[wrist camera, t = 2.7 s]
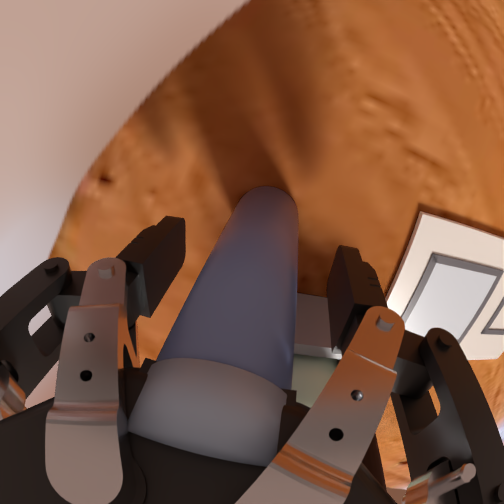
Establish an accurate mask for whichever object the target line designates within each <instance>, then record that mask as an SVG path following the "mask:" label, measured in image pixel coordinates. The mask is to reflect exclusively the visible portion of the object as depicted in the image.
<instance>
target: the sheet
mask: <svg viewBox="0 0 504 504" xmlns="http://www.w3.org/2000/svg"><path fill="white" fill-rule="evenodd" d="M385 300H386V303H387V306H388V308H389V309H391V310H393V311H395V312H396V313H397V314H398V315H399V316H400V317H401V318H402V319H403V321H404V324H405V330H407V331H410V332H412V333H415V334H418V335H421V336H423V337H425V335H426V334H427V332H428V331H429V330H430V329H431V328H442V329H445V330H447V331H448V332H450V333H451V334H452V335H453V336H454V337H455V338H456V340H457V341H458V343H459V345H460V347H461V348H462V350H463V352H464V354H465V356H466V358H467V360H483V359H498V357H499V356H500V355H501V354H502V352H503V351H504V238H502V237H500V236H497V235H494V234H491V233H489V232H486V231H483V230H480V229H477V228H474V227H471V226H468V225H465V224H462V223H459V222H456V221H452V220H449V219H446V218H442V217H439V216H436V215H432V214H429V213H425V212H422V211H420V213H419V216H418V219H417V222H416V225H415V228H414V230H413V233H412V236H411V239H410V241H409V244H408V246H407V249H406V252H405V254H404V257H403V259H402V261H401V264H400V266H399V269H398V271H397V273H396V276H395V278H394V280H393V282H392V285H391V287H390V289H389V291H388V293H387V296H386V298H385Z"/></svg>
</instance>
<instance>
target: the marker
mask: <svg viewBox="0 0 504 504" xmlns="http://www.w3.org/2000/svg"><path fill="white" fill-rule="evenodd" d="M297 274H298V210H297V206H296V204H295V202H294V201H293V199H292V198H291V197H290V196H289V195H288V194H287V193H286V192H284V191H282V190H280V189H278V188H275V187H270V186H262V187H257V188H254V189H252V190H250V191H248V192H247V193H246V194H244V196H243V197H242V198H241V199H240V201H239V203H238V204H237V206H236V208H235V210H234V212H233V213H232V215H231V217H230V219H229V221H228V222H227V224H226V226H225V228H224V230H223V232H222V233H221V235H220V237H219V239H218V241H217V243H216V244H215V246H214V248H213V250H212V252H211V254H210V256H209V257H208V259H207V261H206V263H205V265H204V267H203V269H202V271H201V272H200V274H199V276H198V278H197V280H196V282H195V284H194V286H193V288H192V290H191V292H190V294H189V295H188V297H187V299H186V301H185V303H184V305H183V307H182V309H181V311H180V313H179V315H178V317H177V319H176V321H175V323H174V325H173V327H172V329H171V331H170V333H169V335H168V337H167V339H166V341H165V343H164V345H163V347H162V349H161V351H160V353H159V355H158V357H157V359H156V361H158V362H156V363H154V364H152V365H151V367H150V369H149V371H148V373H147V374H148V377H147V380H146V382H145V384H144V387H143V389H142V391H141V393H140V395H139V397H138V399H137V402H136V404H135V406H134V408H133V410H132V413H131V415H130V417H129V419H128V421H127V425H128V431H129V432H131V433H134V434H137V435H139V436H142V437H145V438H148V439H150V440H153V441H156V442H159V443H162V444H165V445H169V446H172V447H175V448H178V449H182V450H185V451H189V452H193V453H197V454H201V455H205V456H209V457H213V458H218V459H223V460H228V461H233V462H238V463H244V464H251V465H257V466H265V467H268V465H269V464H270V463H271V462H272V460H273V459H274V458H275V457H276V454H277V446H278V438H279V430H280V421H281V413H282V409H283V406H284V405H286V399H287V394H286V393H285V392H284V391H283V390H281V389H289V390H291V388H292V375H293V360H294V344H295V326H296V303H297Z"/></svg>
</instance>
